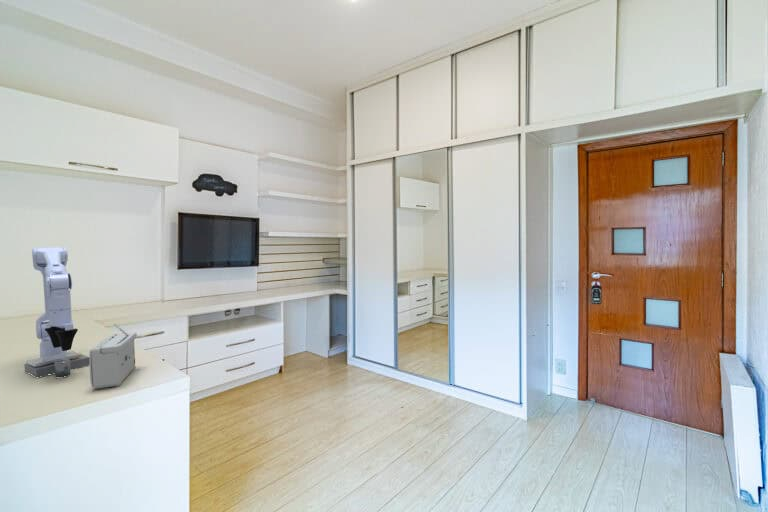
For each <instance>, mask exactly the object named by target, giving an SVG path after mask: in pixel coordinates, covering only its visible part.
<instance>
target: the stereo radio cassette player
mask: <svg viewBox="0 0 768 512" xmlns="http://www.w3.org/2000/svg"><path fill="white" fill-rule="evenodd" d="M113 326H115V327H116V328H118V330H119V331H120V333H119V332H118V333H113V334H111V335H109V336H108V337H106V338H105V339H103V340H102V341H101V342H99V343H98V344H96V345H95V346H94V347H92V348H91V349H90V350H89V356H88V357H89V378H90V385H91V387H92V388H94V389H97V390H100V389H103V388H104V389H105V388H111V387H119V386H120V385H121V384H122V383H123V382H124V380H125V379H126V377H128V375H130V373H131V372H132V371H133V370H134V369H135V368H136V352H135V351H136V350H135V348H136V347H135V339H136V338H137V336H138V334H137V332H135V331H133V332H125V330H123V329H122V328H121V327H119V326H118V325H117V324H116V323H114V324H113ZM121 332H122V333H121Z"/></svg>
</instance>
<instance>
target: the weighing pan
mask: <svg viewBox="0 0 768 512" xmlns="http://www.w3.org/2000/svg"><path fill="white" fill-rule="evenodd" d="M81 354H82V353H79V352H76V351H73V350H71V351H70V350H69V351H67V352H65V353H60V354H56V355H51V356H46V357H41V358H40V357H37V358H33V359H27V360H26V363H28V364H30V365H32V366H34V367H36V366H41V365H45V364H50V363H54V362H57V361H61V360H68V359H72V358H77V357H81Z"/></svg>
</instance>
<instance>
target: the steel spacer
mask: <svg viewBox="0 0 768 512" xmlns="http://www.w3.org/2000/svg"><path fill="white" fill-rule="evenodd" d="M70 374H72V370H71V369H70V360H61V361H57V362H55V374H54V375H55V377H63V378H65V377H64V376H67V377H69V376H68V375H70ZM70 376H71V375H70Z"/></svg>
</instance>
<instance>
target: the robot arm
mask: <svg viewBox="0 0 768 512" xmlns="http://www.w3.org/2000/svg"><path fill="white" fill-rule="evenodd" d="M31 251H32V252H31V253H32V255H31V256H32V257H31V258H32V265H33V266H32V267H33V268H34V270H36V271H39V272H40V273H41V276H42V284H43V296H44V297H43V299H44V313H43V314H42V315H40V316H39V317H38V318H37V319H36V322H35V323H36V324H35V333H36V338H37V339H39V340H41V341H40V343H39V358H41V357H46V356H51V355H56V354H60V353H65V352H68V351H70V350H71V351H72V347H73V346H72V345H73V342H74V338H75V337H76V334H77V332H78V328H74V323H73V319H72V317H73V316H72V302H71V301H72V298H71V290H72V287H73V279H72V274H71V273H70V272H68V271H67V268H66V266H67V264H68V257H69V256H68V249H67V247H65V246H63V247H60V246H59V247H33V248H32V249H31Z"/></svg>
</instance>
